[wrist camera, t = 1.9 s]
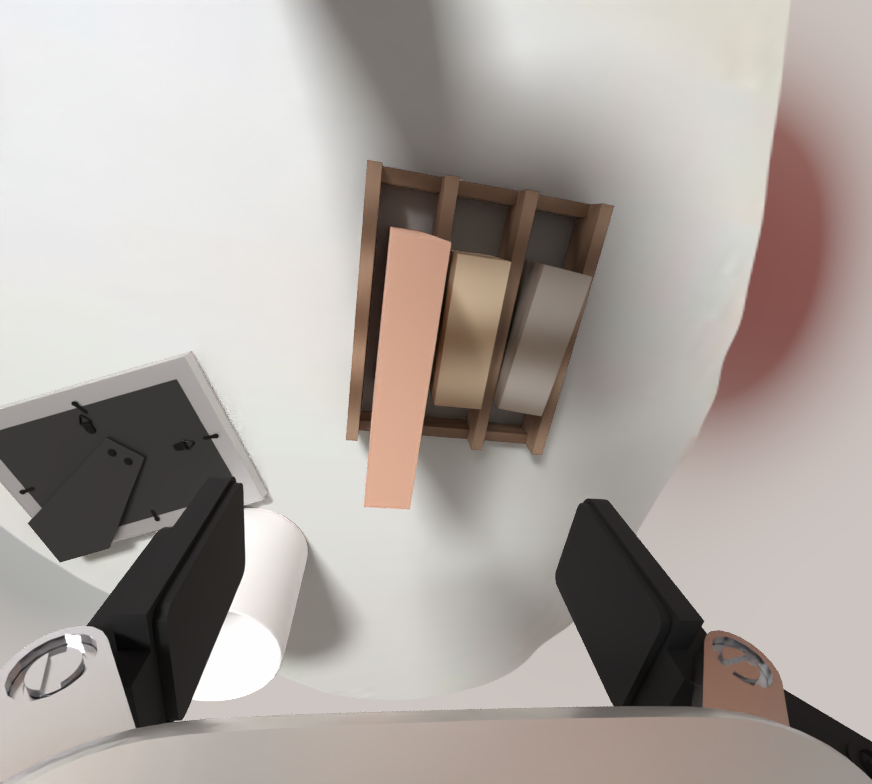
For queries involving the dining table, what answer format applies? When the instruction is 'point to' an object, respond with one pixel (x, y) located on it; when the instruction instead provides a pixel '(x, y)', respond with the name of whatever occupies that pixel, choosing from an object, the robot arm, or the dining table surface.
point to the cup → (257, 609)
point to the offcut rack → (513, 248)
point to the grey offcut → (538, 335)
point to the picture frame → (119, 454)
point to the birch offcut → (467, 328)
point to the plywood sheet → (404, 363)
